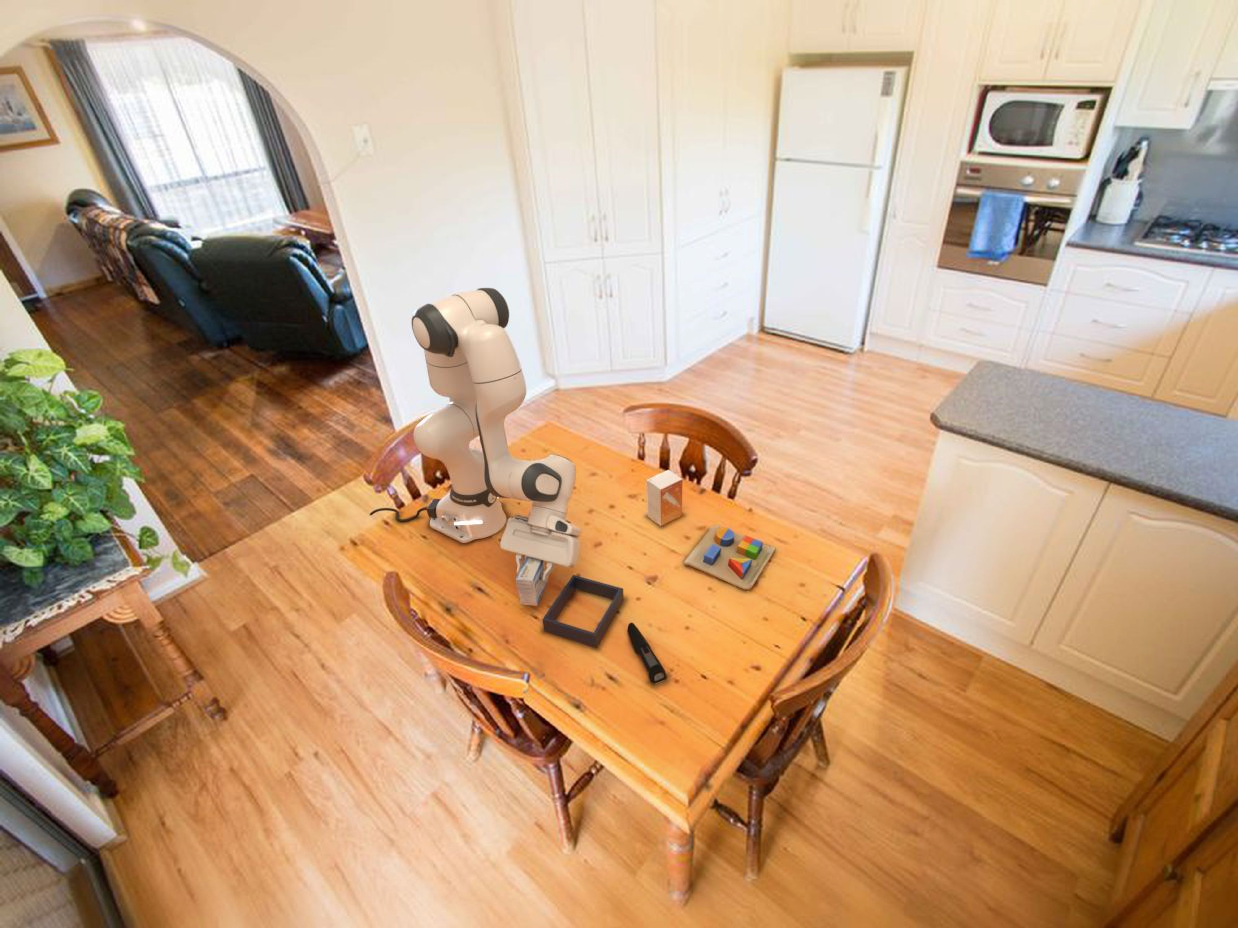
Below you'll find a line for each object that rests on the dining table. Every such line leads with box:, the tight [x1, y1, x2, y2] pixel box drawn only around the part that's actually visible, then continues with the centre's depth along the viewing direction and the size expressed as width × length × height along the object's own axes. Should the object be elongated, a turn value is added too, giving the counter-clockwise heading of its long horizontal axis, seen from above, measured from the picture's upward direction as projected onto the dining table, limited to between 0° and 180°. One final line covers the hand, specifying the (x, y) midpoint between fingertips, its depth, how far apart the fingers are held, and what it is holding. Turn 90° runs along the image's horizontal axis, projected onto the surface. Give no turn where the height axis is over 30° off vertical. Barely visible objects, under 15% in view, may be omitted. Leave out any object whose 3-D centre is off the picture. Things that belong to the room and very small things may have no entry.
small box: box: [646, 469, 683, 527], centre depth 172 cm, size 8×6×13 cm
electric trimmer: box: [626, 622, 667, 685], centre depth 134 cm, size 4×16×3 cm, turn 22°
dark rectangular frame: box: [541, 574, 625, 648], centre depth 145 cm, size 14×16×4 cm
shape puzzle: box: [683, 524, 776, 591], centre depth 158 cm, size 18×19×4 cm
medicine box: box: [515, 556, 548, 607], centre depth 147 cm, size 8×4×9 cm, turn 168°
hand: (531, 577), depth 147 cm, fingers closed on medicine box, 5 cm apart
